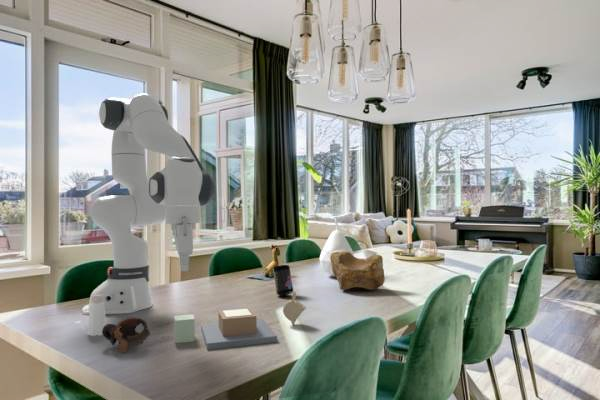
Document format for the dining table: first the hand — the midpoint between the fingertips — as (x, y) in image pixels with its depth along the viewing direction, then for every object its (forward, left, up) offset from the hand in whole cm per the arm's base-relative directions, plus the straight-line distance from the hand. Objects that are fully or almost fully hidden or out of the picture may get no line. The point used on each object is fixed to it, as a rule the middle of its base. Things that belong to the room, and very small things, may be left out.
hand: (184, 268), depth 115 cm
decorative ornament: (+32, +3, -19) cm, 37 cm away
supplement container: (+39, +43, -19) cm, 61 cm away
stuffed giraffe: (+43, +84, -20) cm, 96 cm away
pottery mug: (-15, 0, -20) cm, 25 cm away
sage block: (0, 0, -19) cm, 19 cm away
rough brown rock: (+69, +43, -19) cm, 84 cm away
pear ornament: (+76, +74, -19) cm, 108 cm away
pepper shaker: (-23, +13, -19) cm, 33 cm away
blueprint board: (+14, -1, -19) cm, 24 cm away
